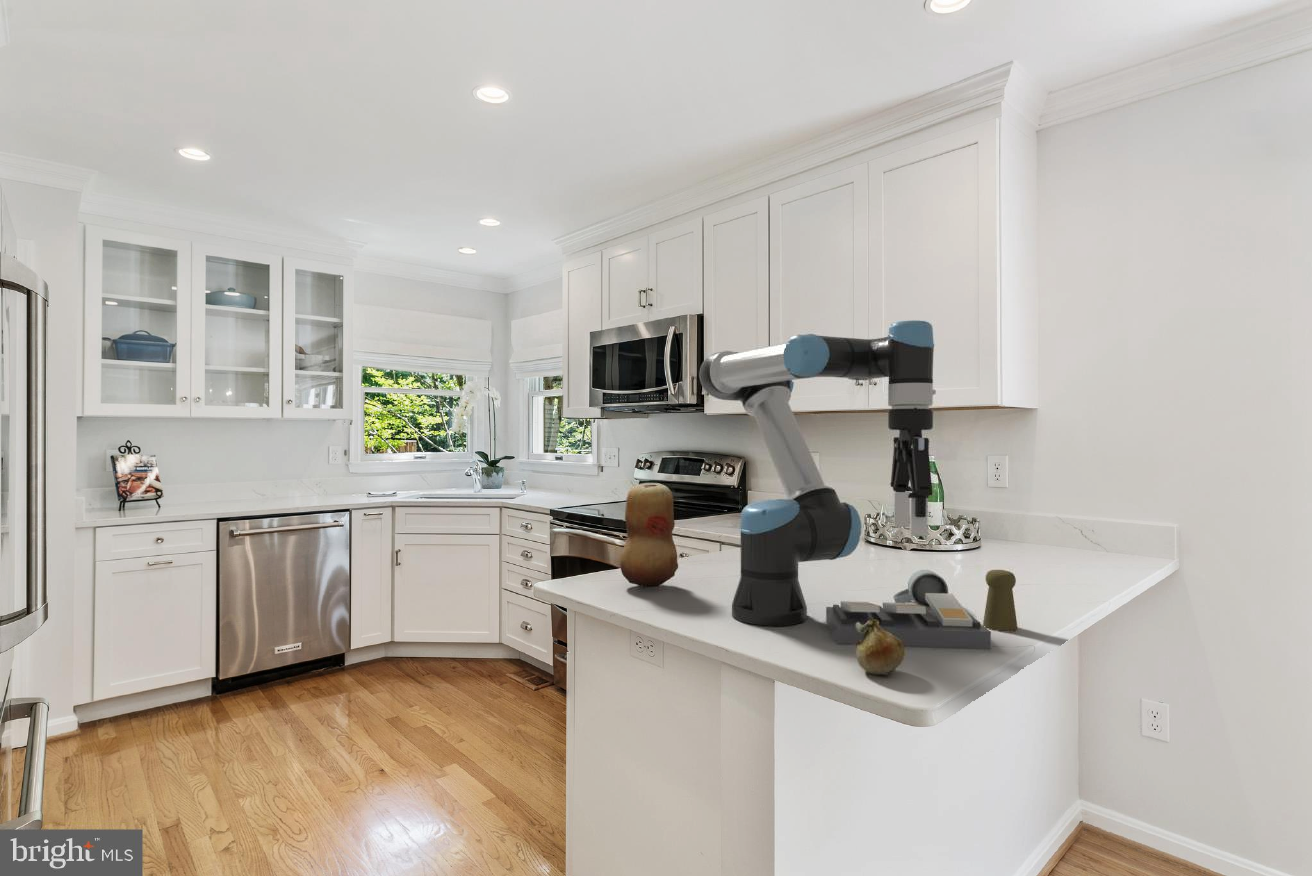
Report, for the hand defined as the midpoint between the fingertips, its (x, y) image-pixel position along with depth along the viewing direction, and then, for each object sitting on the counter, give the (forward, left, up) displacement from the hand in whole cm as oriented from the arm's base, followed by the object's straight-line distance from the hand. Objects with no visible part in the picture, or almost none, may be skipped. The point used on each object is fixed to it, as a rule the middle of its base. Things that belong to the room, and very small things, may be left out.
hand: (909, 531), depth 123 cm
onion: (-9, -17, -20) cm, 28 cm away
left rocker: (-8, +4, -15) cm, 17 cm away
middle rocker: (0, +4, -15) cm, 15 cm away
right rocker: (+8, +4, -15) cm, 17 cm away
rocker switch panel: (0, +4, -20) cm, 20 cm away
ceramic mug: (+9, +27, -20) cm, 35 cm away
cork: (+20, +11, -20) cm, 30 cm away
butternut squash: (-51, +37, -20) cm, 66 cm away
